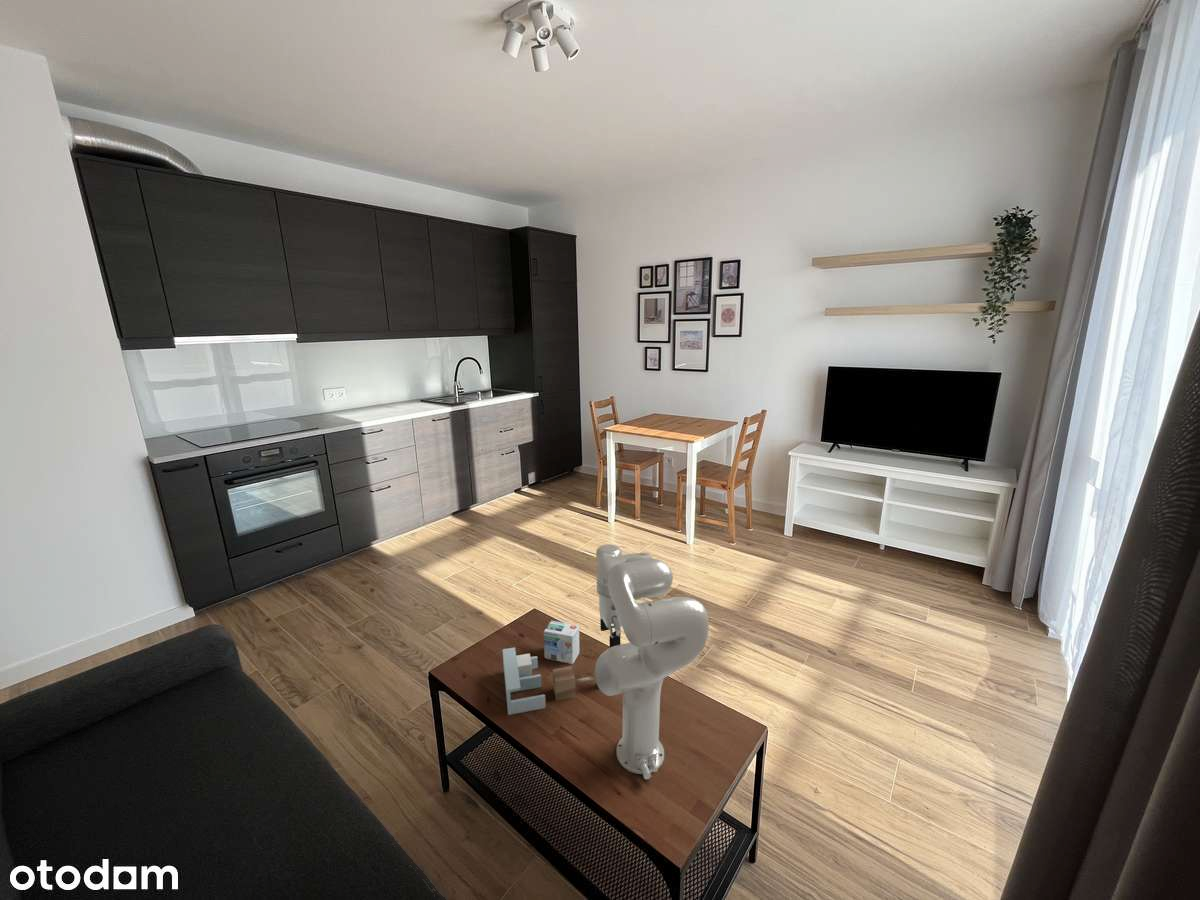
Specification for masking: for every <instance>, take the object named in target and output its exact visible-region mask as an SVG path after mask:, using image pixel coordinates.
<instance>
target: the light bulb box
mask: <svg viewBox="0 0 1200 900" xmlns="http://www.w3.org/2000/svg"><path fill="white" fill-rule="evenodd" d="M543 639H544V640H543V641H544V643H543V644H544V645H543V647H544V650H543V653H544V659H547V660H551V661H555V662H556V661H557V662H561V663H566V664H569V665H573V664H574V662H575V661H576V659H577V657H578V656H579V654H580V625H577V624H573V623H568V622H567V623H566V622H561V621H555V620H550V622H549V623H548V625H547V627H546V628H545V629H544V631H543Z"/></svg>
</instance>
